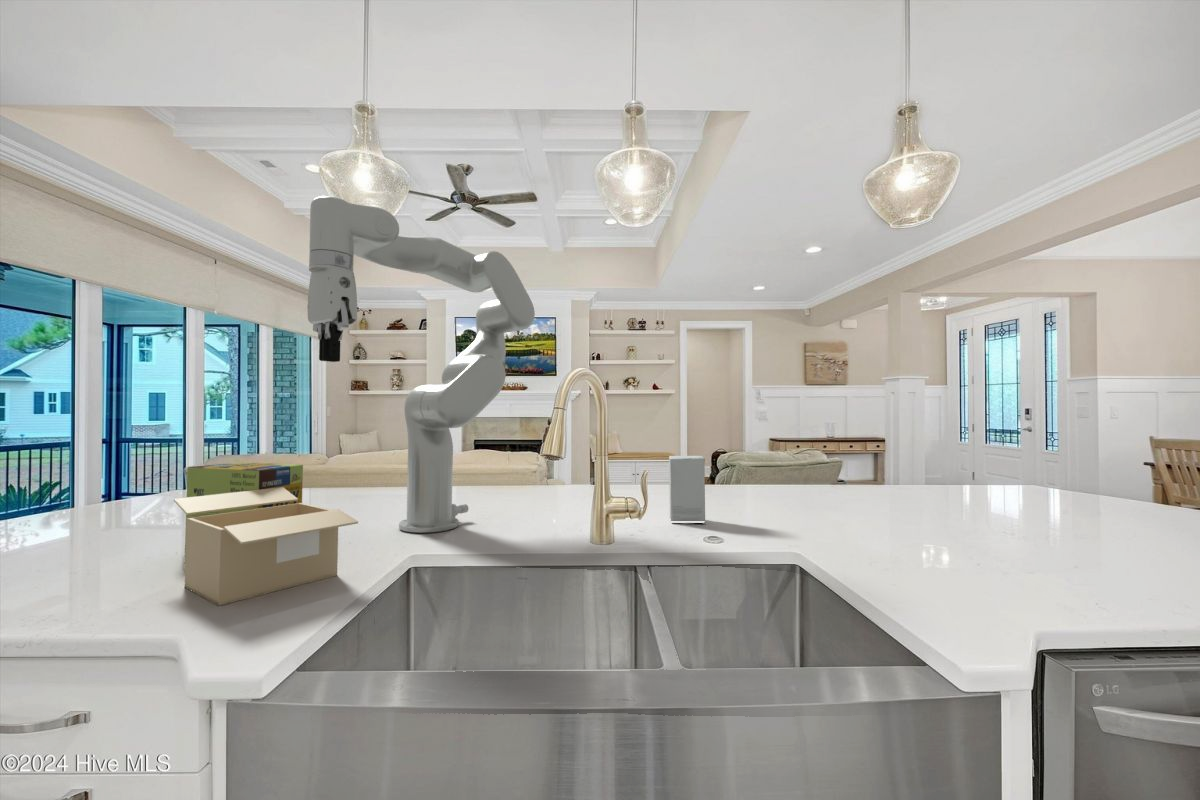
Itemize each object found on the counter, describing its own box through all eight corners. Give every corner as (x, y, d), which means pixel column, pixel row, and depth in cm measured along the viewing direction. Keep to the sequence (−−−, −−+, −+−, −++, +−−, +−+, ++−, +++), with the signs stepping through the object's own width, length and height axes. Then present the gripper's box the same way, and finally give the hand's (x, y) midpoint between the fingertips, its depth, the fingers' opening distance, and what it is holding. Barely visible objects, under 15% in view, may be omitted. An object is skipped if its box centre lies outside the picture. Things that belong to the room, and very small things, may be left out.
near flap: (358, 521, 80) (358, 523, 80) (338, 508, 83) (338, 510, 83) (241, 542, 67) (241, 544, 67) (223, 526, 70) (223, 528, 70)
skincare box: (702, 519, 129) (703, 455, 129) (705, 525, 122) (706, 458, 123) (668, 518, 130) (668, 454, 130) (669, 524, 123) (670, 457, 123)
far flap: (298, 498, 90) (297, 500, 90) (283, 487, 93) (282, 488, 93) (187, 513, 77) (186, 515, 77) (174, 498, 80) (173, 500, 80)
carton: (299, 561, 90) (300, 502, 90) (337, 575, 83) (338, 511, 83) (184, 587, 77) (186, 518, 77) (219, 606, 70) (220, 529, 70)
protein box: (257, 561, 90) (259, 469, 90) (183, 554, 93) (185, 466, 94) (303, 545, 100) (305, 463, 101) (235, 540, 104) (237, 461, 104)
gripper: (372, 264, 100) (370, 361, 99) (330, 274, 108) (328, 364, 108) (333, 254, 94) (331, 357, 93) (291, 266, 102) (289, 361, 102)
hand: (329, 360), depth 101 cm, fingers closed
